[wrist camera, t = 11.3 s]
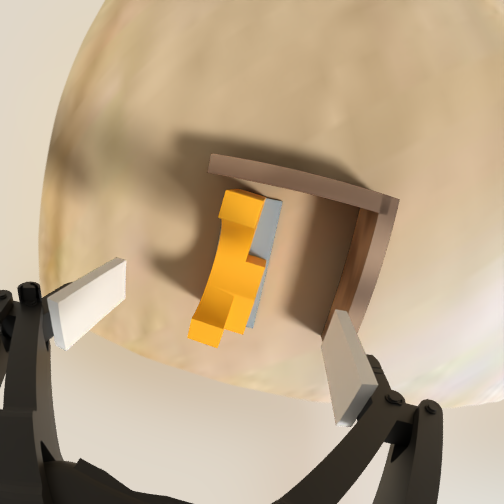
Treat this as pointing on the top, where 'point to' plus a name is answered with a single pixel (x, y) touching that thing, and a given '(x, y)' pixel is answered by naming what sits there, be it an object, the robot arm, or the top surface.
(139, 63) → the top surface
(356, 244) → the brown wooden corner wall
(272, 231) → the pad
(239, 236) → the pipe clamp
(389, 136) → the top surface
